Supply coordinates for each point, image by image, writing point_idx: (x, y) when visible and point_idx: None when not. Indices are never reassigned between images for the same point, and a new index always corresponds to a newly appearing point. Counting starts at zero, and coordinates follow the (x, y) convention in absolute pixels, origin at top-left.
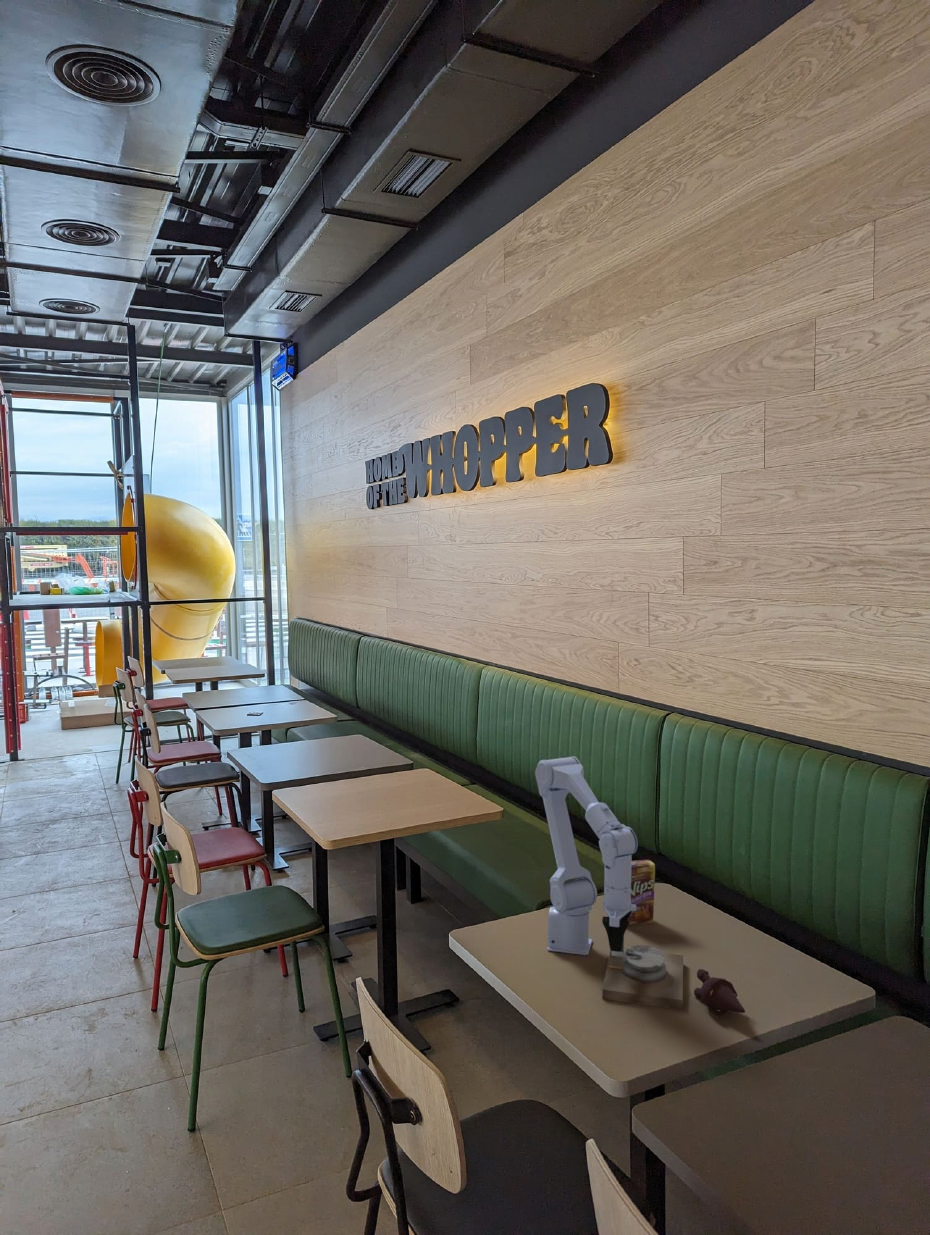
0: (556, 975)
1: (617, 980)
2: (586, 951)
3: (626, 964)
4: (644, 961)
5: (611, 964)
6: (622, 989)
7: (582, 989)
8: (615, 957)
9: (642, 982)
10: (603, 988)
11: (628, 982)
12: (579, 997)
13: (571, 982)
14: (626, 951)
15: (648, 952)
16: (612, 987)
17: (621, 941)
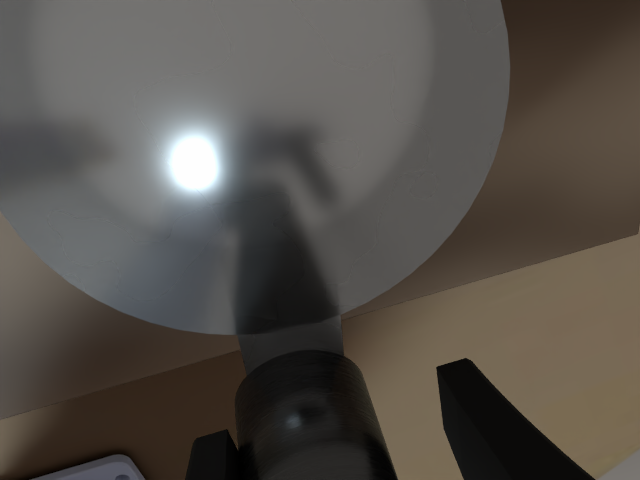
0: (417, 448)
1: (489, 201)
2: (100, 476)
3: None
4: (490, 68)
5: None
6: (621, 121)
7: (516, 318)
8: (133, 342)
9: None
10: (625, 233)
11: None
12: (602, 296)
13: None
14: (317, 319)
15: (196, 107)
16: (603, 191)
17: (562, 455)
